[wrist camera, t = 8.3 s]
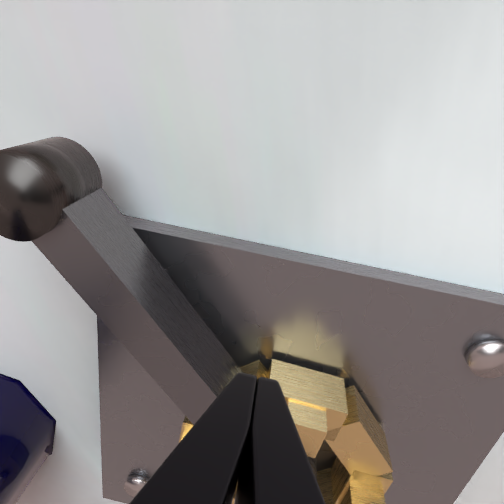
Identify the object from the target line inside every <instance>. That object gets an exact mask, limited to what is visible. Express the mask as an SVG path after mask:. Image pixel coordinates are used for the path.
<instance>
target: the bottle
mask: <svg viewBox="0 0 504 504" xmlns="http://www.w3.org/2000/svg"><path fill="white" fill-rule="evenodd" d="M55 424H56V420H55V419H54V418H53V417H52V416H51V415H50V414H49V413H48V412H47V410H46V409H45V408H44V407H43V406H42V405H41V404H40V403H39V402H38V401H37V399H36V398H35V397H34V396H33V395H32V394H31V393H30V392H29V391H28V389H27V388H26V387H25V386H24V385H23V384H22V383H21V382H20V381H19V380H16V379H13V378H10V377H8V376H5V375H2V374H0V504H15V503H16V502H17V500H18V499H19V497H20V496H21V494H22V493H23V491H24V490H25V488H26V487H27V486H28V484H29V483H30V481H31V480H32V478H33V477H34V475H35V474H36V472H37V471H38V469H39V468H40V467H41V465H42V464H43V462H44V461H45V459H46V458H47V456H48V455H50V454H52V448H53V440H54V432H55Z"/></svg>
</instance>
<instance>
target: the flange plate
mask: <svg viewBox="0 0 504 504" xmlns="http://www.w3.org/2000/svg"><path fill="white" fill-rule="evenodd" d="M123 216H124V218H125V219H126V220H127V222H128V223H129V224H130V226H131V227H132V228H133V229H134V231H135V232H136V233H137V235H138V236H139V237H140V239H141V240H142V241H143V242H144V244H145V245H146V246H147V248H148V249H149V250H150V252H151V253H152V254H153V256H154V257H155V258H156V259H157V261H158V262H159V263H160V265H161V266H162V267H163V269H164V270H165V271H166V272H167V274H168V275H169V276H170V278H171V279H172V280H173V282H174V283H175V284H176V285H177V287H178V288H179V289H180V291H181V292H182V293H183V295H184V296H185V297H186V299H187V300H188V301H189V302H190V304H191V305H192V306H193V308H194V309H195V310H196V312H197V313H198V314H199V315H200V317H201V318H202V319H203V321H204V322H205V323H206V325H207V326H208V327H209V328H210V330H211V331H212V332H213V334H214V335H215V336H216V338H217V339H218V340H219V342H220V343H221V344H222V345H223V347H224V348H225V349H226V351H227V352H228V353H229V355H230V356H231V357H232V358H233V360H234V361H235V362H236V364H237V365H238V366H239V367H241V366H243V365H246V364H249V363H251V362H254V361H256V360H260V361H261V362H262V364H263V365H264V366H265V368H266V369H267V370H269V367H270V364H271V361H272V359H275V360H279V361H282V362H286V363H290V364H293V365H297V366H301V367H304V368H308V369H312V370H315V371H319V372H323V373H326V374H330V375H334V376H337V377H341V378H344V384H345V388H347V387H350V386H353V385H354V386H355V387H356V389H357V391H358V392H359V394H360V395H361V397H362V398H363V400H364V401H365V403H366V404H367V406H368V408H369V409H370V411H371V412H372V414H373V415H374V417H375V418H376V420H377V421H378V423H379V425H380V426H381V428H382V429H383V431H384V432H385V436H386V441H387V445H388V450H389V455H390V459H391V464H392V469H393V472H392V477H393V482H392V484H391V485H390V487H389V488H388V490H387V491H386V493H385V494H384V497H385V503H386V504H453V503H454V501H455V500H456V499H457V497H458V496H459V494H460V493H461V492H462V490H463V489H464V487H465V486H466V484H467V483H468V482H469V480H470V479H471V477H472V476H473V474H474V473H475V472H476V470H477V469H478V467H479V466H480V464H481V463H482V462H483V460H484V459H485V457H486V456H487V454H488V453H489V452H490V450H491V449H492V447H493V446H494V444H495V443H496V442H497V440H498V439H499V437H500V436H501V434H502V433H503V432H504V294H500V293H495V292H491V291H486V290H481V289H476V288H471V287H467V286H462V285H457V284H452V283H447V282H442V281H438V280H433V279H428V278H423V277H418V276H414V275H409V274H404V273H399V272H394V271H389V270H385V269H380V268H375V267H370V266H365V265H361V264H356V263H351V262H346V261H341V260H337V259H332V258H327V257H322V256H317V255H312V254H308V253H303V252H298V251H293V250H288V249H284V248H279V247H274V246H269V245H264V244H259V243H255V242H250V241H245V240H240V239H235V238H231V237H226V236H221V235H216V234H211V233H207V232H202V231H197V230H192V229H187V228H182V227H178V226H173V225H168V224H163V223H158V222H154V221H149V220H144V219H139V218H134V217H129V216H125V215H123ZM97 328H98V359H99V390H100V421H101V453H102V484H103V498H107V499H111V500H115V501H119V502H123V503H127V504H129V503H130V502H131V500H132V499H133V498H134V497H135V496H136V494H137V493H138V492H139V491H140V489H141V488H142V487H143V486H144V485H145V483H146V482H147V481H148V480H149V479H150V477H151V476H152V475H153V474H154V473H155V471H156V470H157V469H158V468H159V467H160V465H161V464H162V463H163V462H164V461H165V459H166V458H167V457H168V456H169V454H170V453H171V452H172V451H173V450H174V448H175V447H176V446H177V445H178V444H179V439H180V434H181V429H182V425H183V421H184V418H185V415H184V413H183V412H182V411H181V410H180V409H179V408H178V407H177V405H176V404H175V403H174V402H173V401H172V400H171V399H170V397H169V396H168V395H167V394H166V393H165V392H164V391H163V390H162V388H161V387H160V386H159V385H158V384H157V383H156V382H155V380H154V379H153V378H152V377H151V376H150V375H149V374H148V372H147V371H146V370H145V369H144V368H143V367H142V366H141V365H140V363H139V362H138V361H137V360H136V359H135V358H134V357H133V355H132V354H131V353H130V352H129V351H128V350H127V349H126V347H125V346H124V345H123V344H122V343H121V342H120V341H119V340H118V338H117V337H116V336H115V335H114V334H113V333H112V332H111V330H110V329H109V328H108V327H107V326H106V325H105V324H104V322H103V321H102V320H101V319H100V318H99V317H98V316H97ZM307 457H308V456H307ZM336 457H337V455H336V454H335V453H334V451H333V450H332V449H331V447H330V446H329V444H328V443H327V442H326V440H325V439H324V441H323V443H322V445H321V447H320V449H319V451H318V453H317V455H316V457H315V458H312V457H308V459H309V462H310V464H311V467H312V470H313V472H314V475H315V477H316V480H317V471H321V470H324V469H328V468H331V467H332V465H333V463H334V461H335V459H336ZM234 504H235V501H234Z"/></svg>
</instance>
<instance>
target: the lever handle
mask: <svg viewBox="0 0 504 504" xmlns="http://www.w3.org/2000/svg"><path fill="white" fill-rule="evenodd" d="M0 235H1V236H3V237H5V238H8V239H11V240H15V241H32V242H33V243H34V244H35V245H36V246H37V247H38V249H39V250H40V251H41V252H42V253H43V254H44V255H45V257H46V258H47V259H48V260H49V261H50V262H51V263H52V264H53V266H54V267H55V268H56V269H57V270H58V271H59V272H60V274H61V275H62V276H63V277H64V278H65V279H66V280H67V282H68V283H69V284H70V285H71V286H72V287H73V288H74V289H75V291H76V292H77V293H78V294H79V295H80V296H81V297H82V299H83V300H84V301H85V302H86V303H87V304H88V305H89V307H90V308H91V309H92V310H93V311H94V312H95V313H96V314H97V316H98V317H99V318H100V319H101V320H102V321H103V322H104V324H105V325H106V326H107V327H108V328H109V329H110V330H111V332H112V333H113V334H114V335H115V336H116V337H117V338H118V340H119V341H120V342H121V343H122V344H123V345H124V346H125V347H126V349H127V350H128V351H129V352H130V353H131V354H132V355H133V357H134V358H135V359H136V360H137V361H138V362H139V363H140V365H141V366H142V367H143V368H144V369H145V370H146V371H147V372H148V374H149V375H150V376H151V377H152V378H153V379H154V380H155V382H156V383H157V384H158V385H159V386H160V387H161V388H162V390H163V391H164V392H165V393H166V394H167V395H168V396H169V397H170V399H171V400H172V401H173V402H174V403H175V404H176V405H177V407H178V408H179V409H180V410H181V411H182V412H183V413H184V415H185V418H184V421H183V425H182V429H181V434H180V439H179V442H180V441H181V440H182V439H183V438H184V436H185V435H186V434H187V433H188V432H189V430H190V429H191V428H192V427H193V426H194V424H195V423H196V422H197V421H198V419H199V418H200V417H201V416H202V415H203V413H204V412H205V411H206V410H207V409H208V407H209V406H210V405H211V404H212V403H213V401H214V400H215V399H216V398H217V397H218V395H219V394H220V393H221V392H222V391H223V389H224V388H225V387H226V386H227V384H228V383H229V382H230V381H231V380H232V378H233V377H234V376H235V375H236V374H237V373H239V372H242V373H247V374H251V375H255V376H256V377H257V380H258V378H259V377H265V378H269V379H274V380H277V381H278V382H279V384H280V387H281V389H282V392H283V394H284V397H285V400H286V402H287V405H288V407H289V410H290V413H291V415H292V418H293V420H294V423H295V426H296V428H297V431H298V433H299V436H300V438H301V441H302V444H303V446H304V449H305V451H306V454H307V456H308V457H312V458H315V457H316V455H317V453H318V451H319V449H320V447H321V445H322V443H323V441H324V439H325V440H326V442H327V443H328V444H329V446H330V447H331V449H332V450H333V451H334V453H335V454H336V455H337V457H336V459H335V461H334V463H333V465H332V467H331V468H328V469H324V470H321V471H317V483H318V485H319V488H320V490H321V493H322V496H323V498H324V501H325V503H326V504H386V503H385V497H384V494H385V493H386V491H387V490H388V488H389V487H390V485H391V484H392V482H393V477H392V472H393V469H392V464H391V459H390V455H389V450H388V445H387V441H386V436H385V432H384V431H383V429H382V428H381V426H380V425H379V423H378V421H377V420H376V418H375V417H374V415H373V414H372V412H371V411H370V409H369V408H368V406H367V404H366V403H365V401H364V400H363V398H362V397H361V395H360V394H359V392H358V391H357V389H356V387H355V386H354V385H353V386H350V387H347V388H345V384H344V378H341V377H337V376H334V375H330V374H326V373H323V372H319V371H315V370H312V369H308V368H304V367H301V366H297V365H293V364H290V363H286V362H282V361H279V360H275V359H272V361H271V364H270V367H269V370H267V369H266V368H265V366H264V365H263V364H262V362H261V361H260V360H256V361H254V362H251V363H249V364H246V365H243V366H241V367H239V366H238V365H237V364H236V362H235V361H234V360H233V358H232V357H231V356H230V355H229V353H228V352H227V351H226V349H225V348H224V347H223V345H222V344H221V343H220V342H219V340H218V339H217V338H216V336H215V335H214V334H213V332H212V331H211V330H210V328H209V327H208V326H207V325H206V323H205V322H204V321H203V319H202V318H201V317H200V315H199V314H198V313H197V312H196V310H195V309H194V308H193V306H192V305H191V304H190V302H189V301H188V300H187V299H186V297H185V296H184V295H183V293H182V292H181V291H180V289H179V288H178V287H177V285H176V284H175V283H174V282H173V280H172V279H171V278H170V276H169V275H168V274H167V272H166V271H165V270H164V269H163V267H162V266H161V265H160V263H159V262H158V261H157V259H156V258H155V257H154V256H153V254H152V253H151V252H150V250H149V249H148V248H147V246H146V245H145V244H144V242H143V241H142V240H141V239H140V237H139V236H138V235H137V233H136V232H135V231H134V229H133V228H132V227H131V226H130V224H129V223H128V222H127V220H126V219H125V218H124V216H123V215H122V214H121V213H120V211H119V210H118V209H117V207H116V206H115V205H114V203H113V202H112V201H111V199H110V198H109V197H108V196H107V194H106V193H105V192H104V190H103V189H102V179H101V174H100V170H99V168H98V165H97V163H96V161H95V160H94V158H93V157H92V156H91V154H90V153H89V152H88V151H87V150H86V149H85V148H84V147H82V146H81V145H80V144H78V143H77V142H75V141H73V140H70V139H67V138H63V137H51V138H47V139H43V140H39V141H35V142H31V143H27V144H23V145H19V146H15V147H11V148H7V149H3V150H0ZM236 488H237V485H236ZM235 495H236V489H235V493H234V497H233V500H232V504H234V501H235Z"/></svg>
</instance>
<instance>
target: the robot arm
mask: <svg viewBox="0 0 504 504" xmlns="http://www.w3.org/2000/svg"><path fill="white" fill-rule="evenodd" d="M236 485H237V488H236ZM235 489H236V495H235V504H326V503H325V501H324V498H323V496H322V493H321V490H320V488H319V485H318V483H317V480H316V477H315V475H314V472H313V470H312V467H311V464H310V462H309V459H308V457H307V454H306V451H305V449H304V446H303V444H302V441H301V438H300V436H299V433H298V431H297V428H296V426H295V423H294V420H293V418H292V415H291V413H290V410H289V407H288V405H287V402H286V400H285V397H284V394H283V392H282V389H281V387H280V384H279V382H278V381H277V380H274V379H269V378H265V377H259V378H258V380H257V377H256V376H255V375H251V374H247V373H242V372H239V373H237V374H236V375H235V376H234V377H233V378H232V380H231V381H230V382H229V383H228V384H227V386H226V387H225V388H224V389H223V391H222V392H221V393H220V394H219V395H218V397H217V398H216V399H215V400H214V401H213V403H212V404H211V405H210V406H209V407H208V409H207V410H206V411H205V412H204V413H203V415H202V416H201V417H200V418H199V419H198V421H197V422H196V423H195V424H194V426H193V427H192V428H191V429H190V430H189V432H188V433H187V434H186V435H185V436H184V438H183V439H182V440H181V441H180V442H179V444H178V445H177V446H176V447H175V448H174V450H173V451H172V452H171V453H170V454H169V456H168V457H167V458H166V459H165V461H164V462H163V463H162V464H161V465H160V467H159V468H158V469H157V470H156V471H155V473H154V474H153V475H152V476H151V477H150V479H149V480H148V481H147V482H146V483H145V485H144V486H143V487H142V488H141V489H140V491H139V492H138V493H137V494H136V496H135V497H134V498H133V499H132V500H131V502H130V503H129V504H232V500H233V497H234V493H235Z"/></svg>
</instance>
